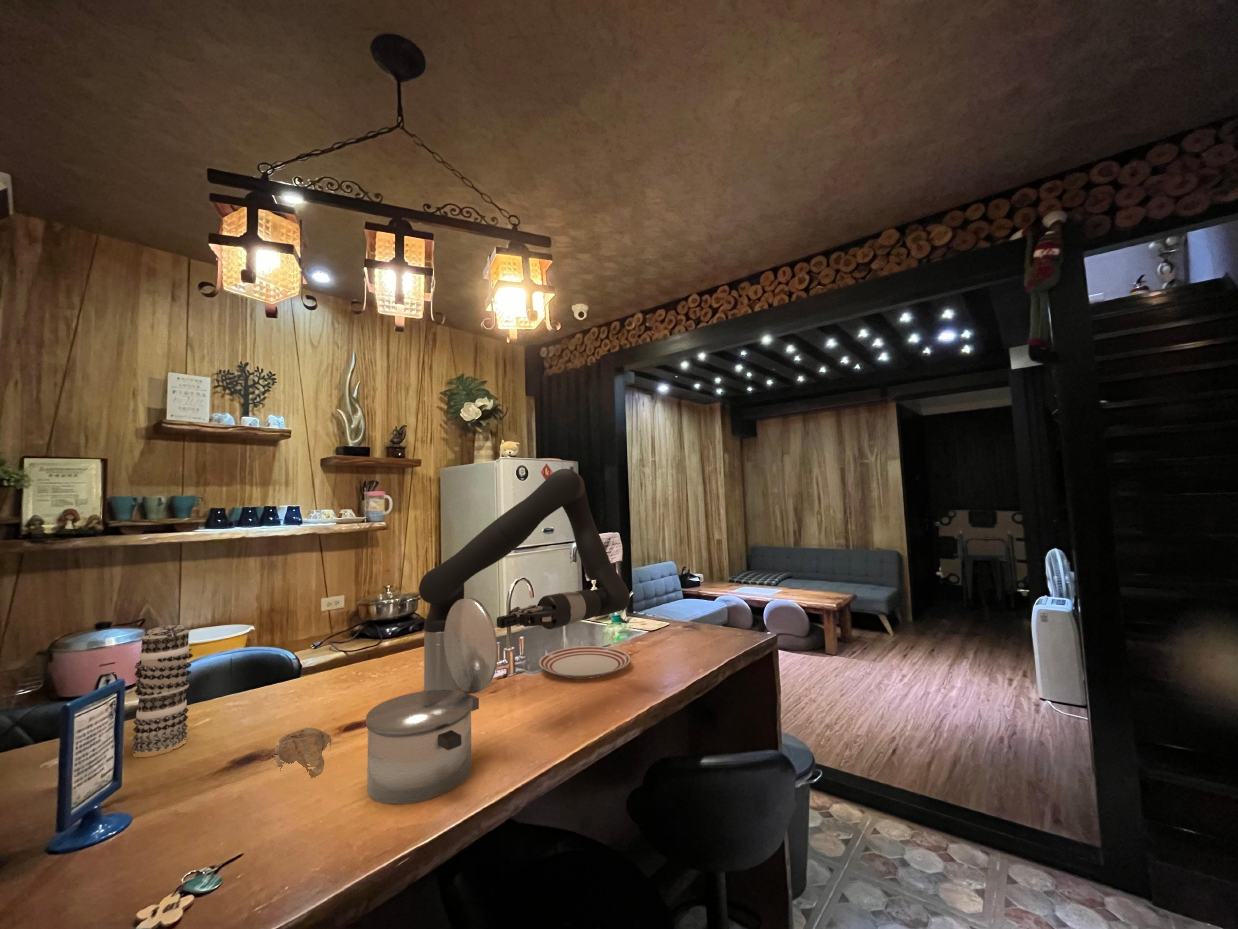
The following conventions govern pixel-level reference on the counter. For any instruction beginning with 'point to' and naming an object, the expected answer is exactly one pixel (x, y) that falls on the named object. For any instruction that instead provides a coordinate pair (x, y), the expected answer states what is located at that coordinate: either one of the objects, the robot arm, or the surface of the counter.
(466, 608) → the cooker lid
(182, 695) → the decorative candle
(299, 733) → the fish fossil
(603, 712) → the counter surface
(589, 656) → the dinner plate
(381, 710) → the cooker pot
